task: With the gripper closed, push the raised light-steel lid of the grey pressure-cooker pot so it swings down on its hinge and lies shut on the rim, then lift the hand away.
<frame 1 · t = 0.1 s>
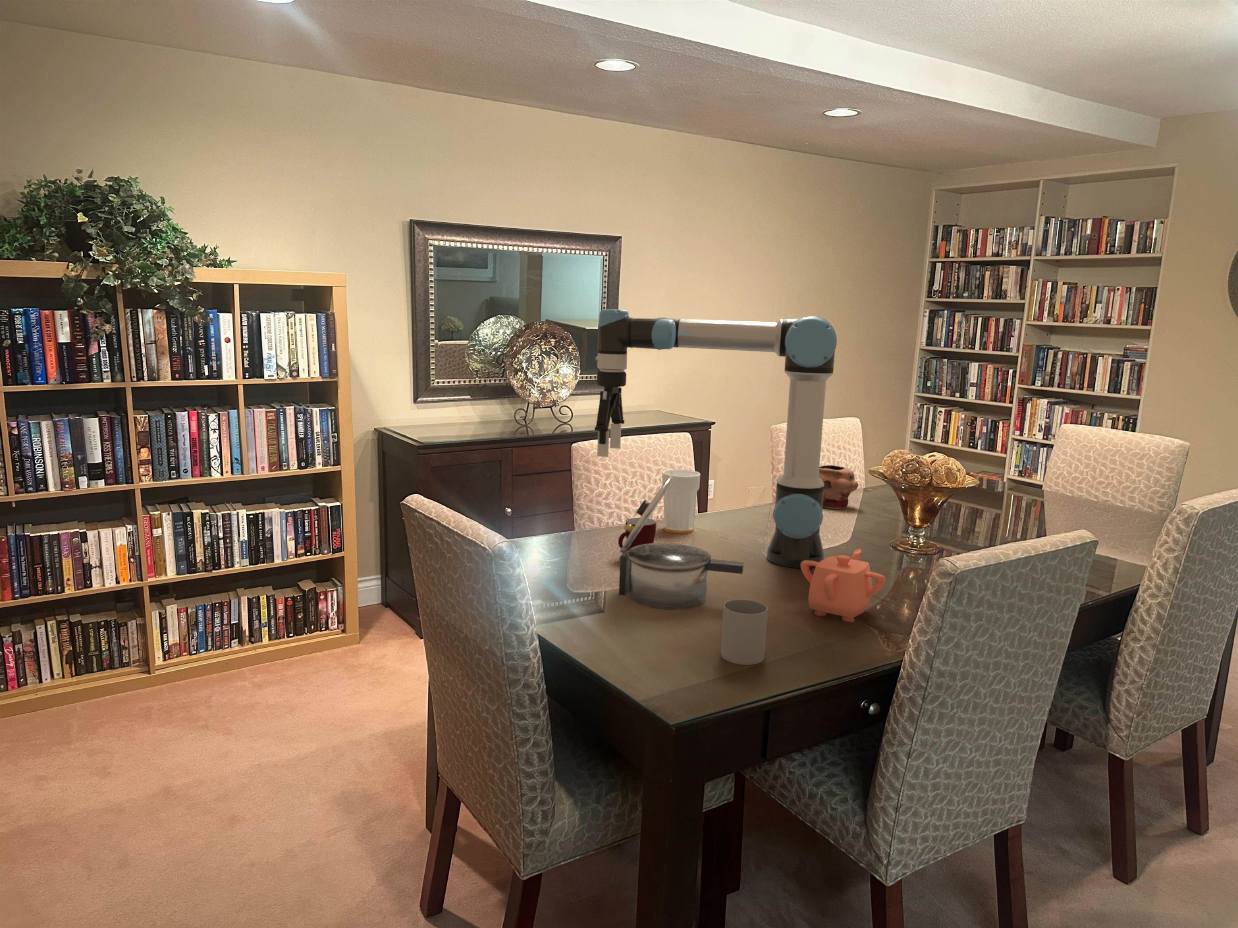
hand: (609, 452, 228), 28 cm above the table, fingers open, 13 cm apart
decorative planter: (827, 506, 301), on the table
pot: (667, 595, 203), on the table
teapot: (839, 612, 196), on the table
mug: (635, 559, 231), on the table
cup 2: (678, 530, 263), on the table
cup: (742, 656, 170), on the table
lid: (644, 511, 200), point 20 cm above the table, hinge at 60.0°
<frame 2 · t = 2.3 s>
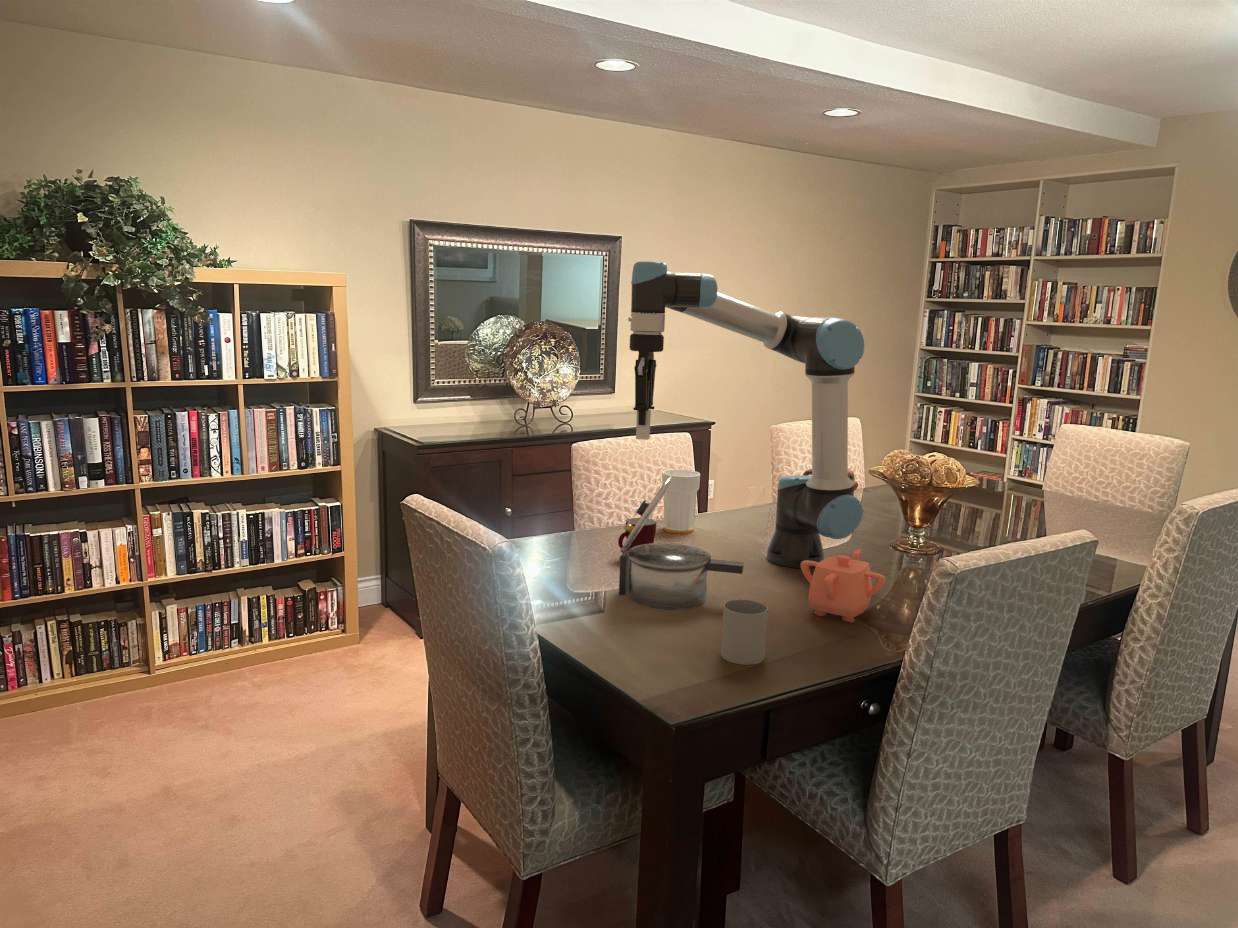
hand: (642, 438, 198), 36 cm above the table, fingers closed
nothing on the table moved.
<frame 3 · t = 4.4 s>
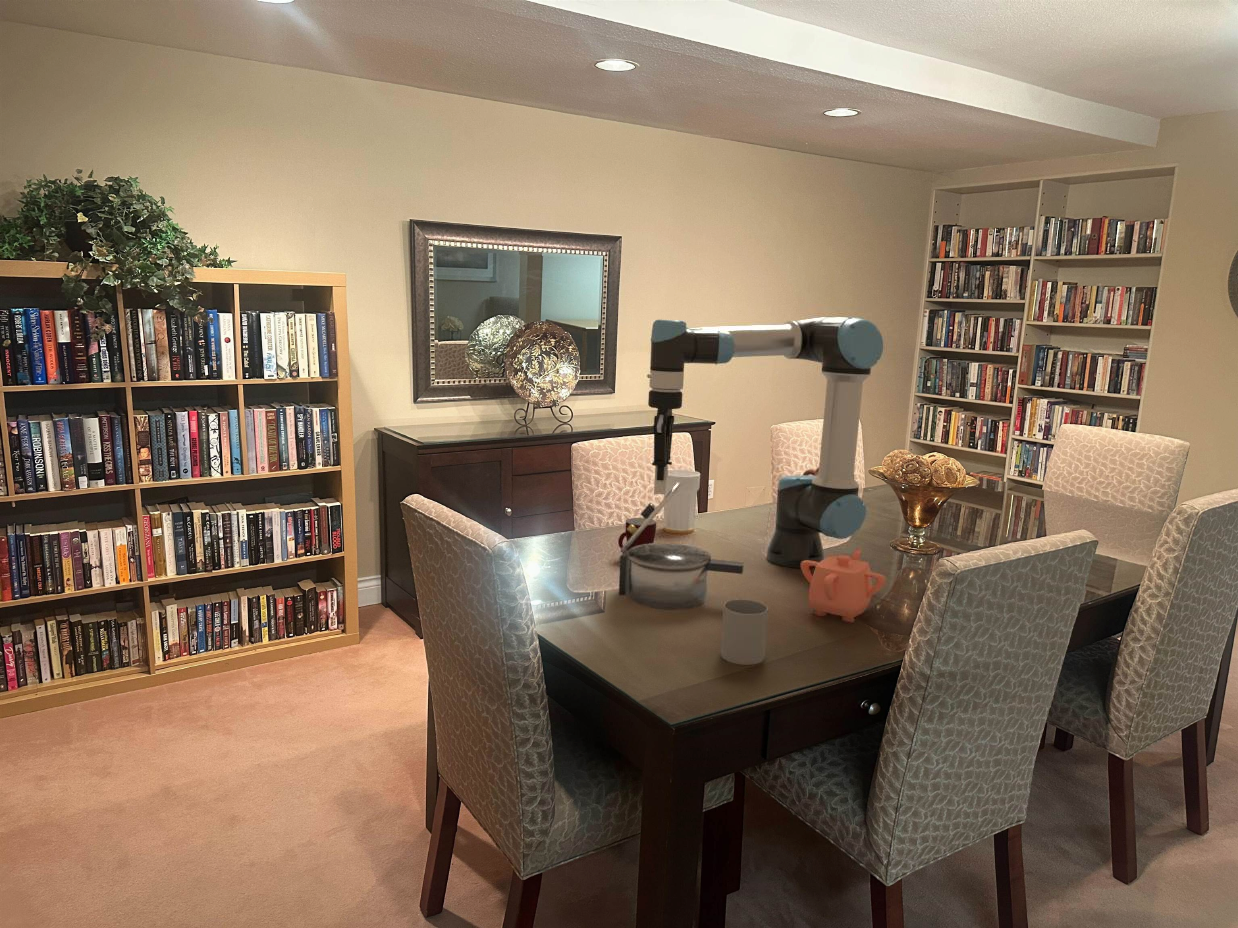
hand: (660, 493, 199), 24 cm above the table, fingers closed
lid: (648, 514, 200), point 19 cm above the table, hinge at 53.4°, touching gripper
everything else where it was.
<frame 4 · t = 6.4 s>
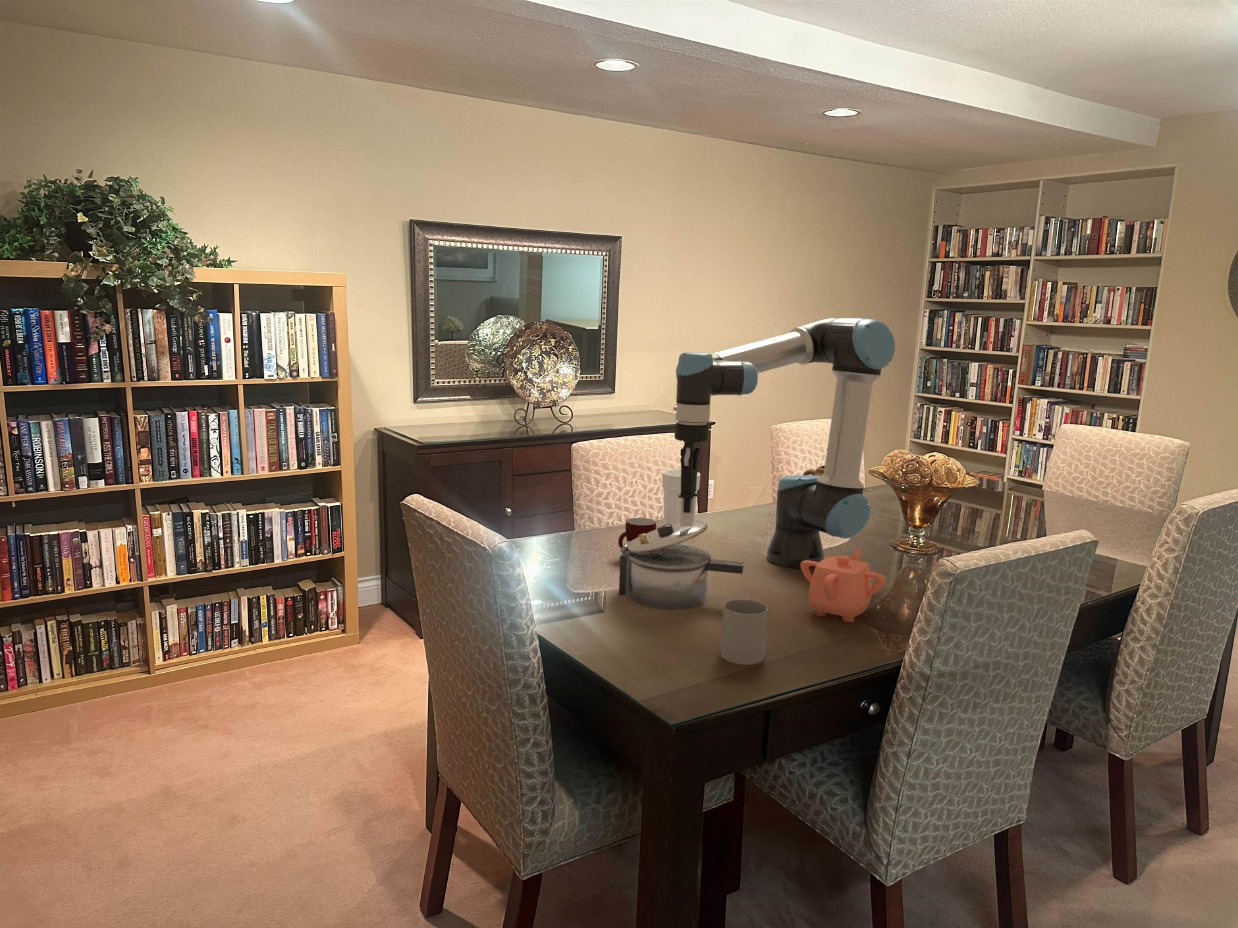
hand: (686, 525, 199), 17 cm above the table, fingers closed
lid: (663, 532, 200), point 15 cm above the table, hinge at 20.0°, touching gripper
everything else where it was.
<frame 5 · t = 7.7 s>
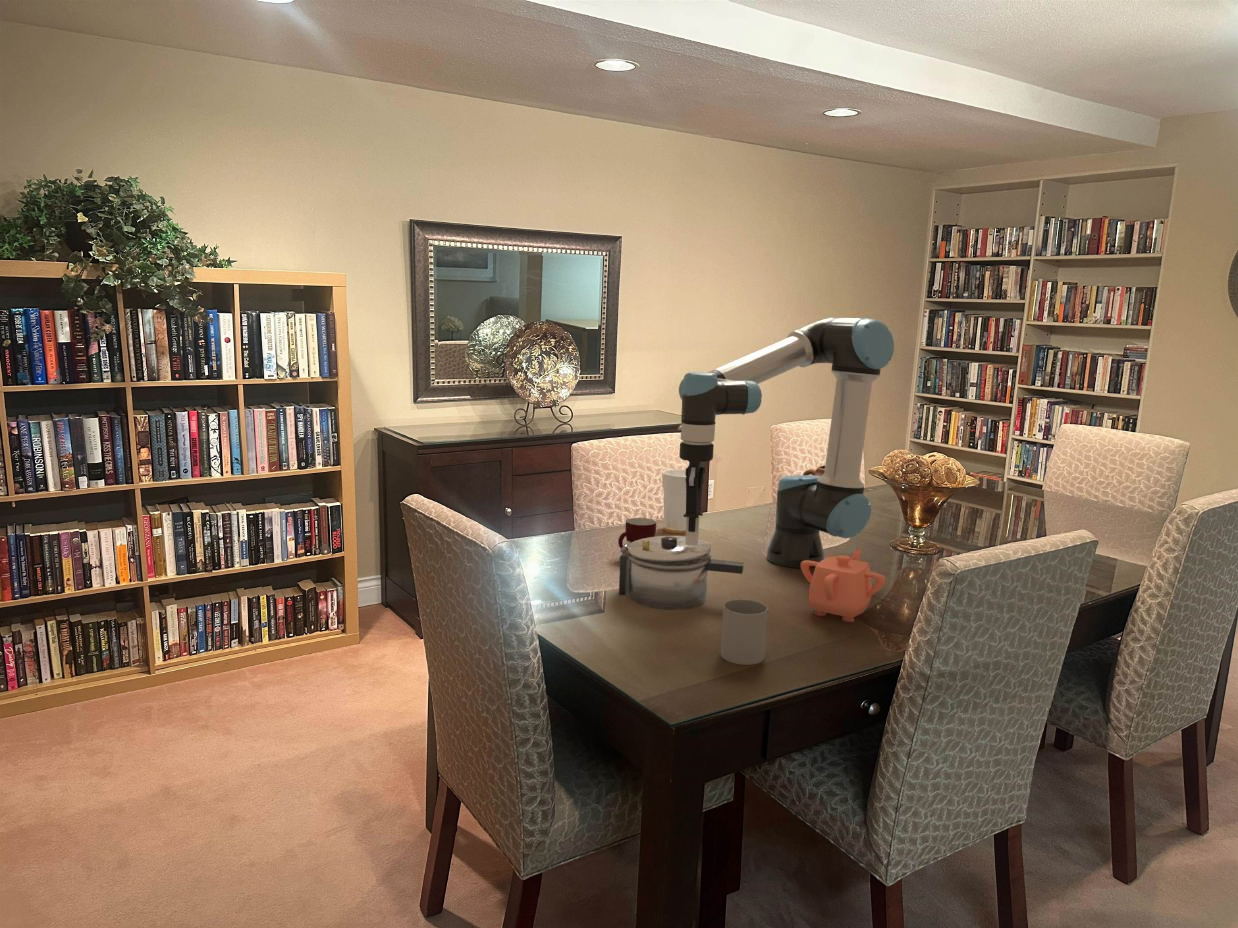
hand: (691, 544, 199), 13 cm above the table, fingers closed
lid: (666, 544, 201), point 12 cm above the table, hinge at 3.7°
everything else where it was.
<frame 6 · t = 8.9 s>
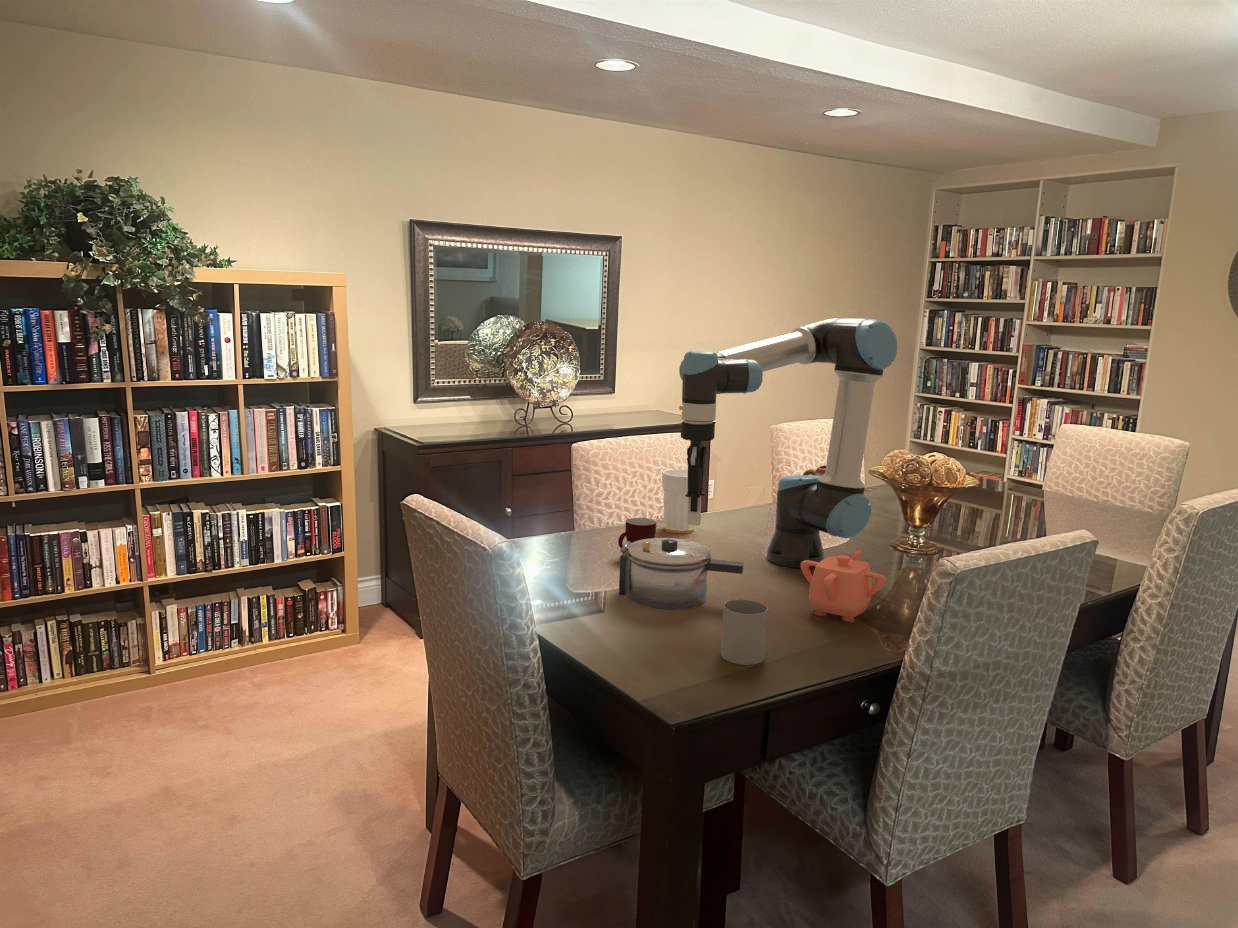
hand: (693, 524, 199), 18 cm above the table, fingers closed
lid: (666, 546, 201), point 12 cm above the table, hinge at -0.1°
everything else where it was.
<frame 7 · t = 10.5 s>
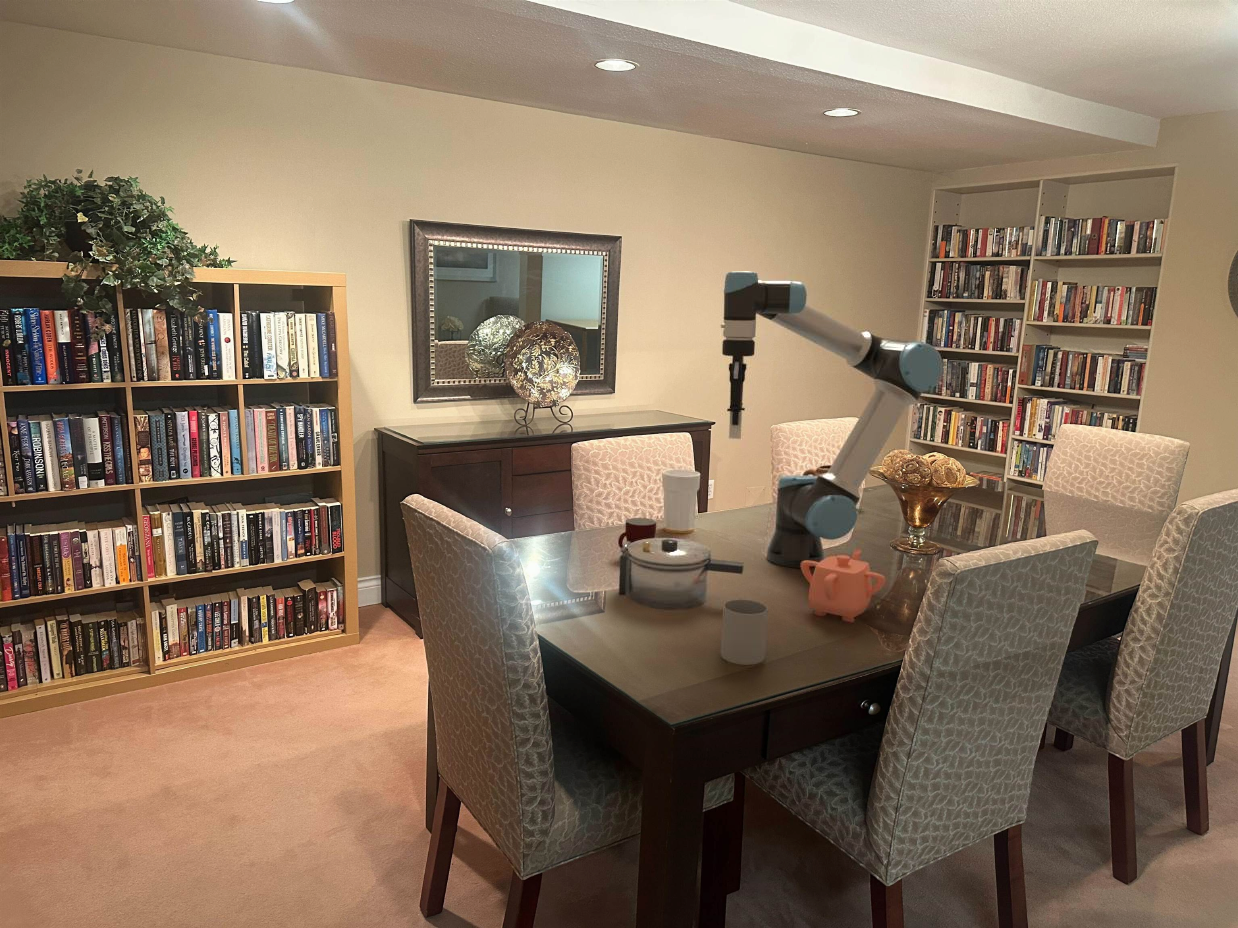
hand: (734, 438, 210), 35 cm above the table, fingers closed
nothing on the table moved.
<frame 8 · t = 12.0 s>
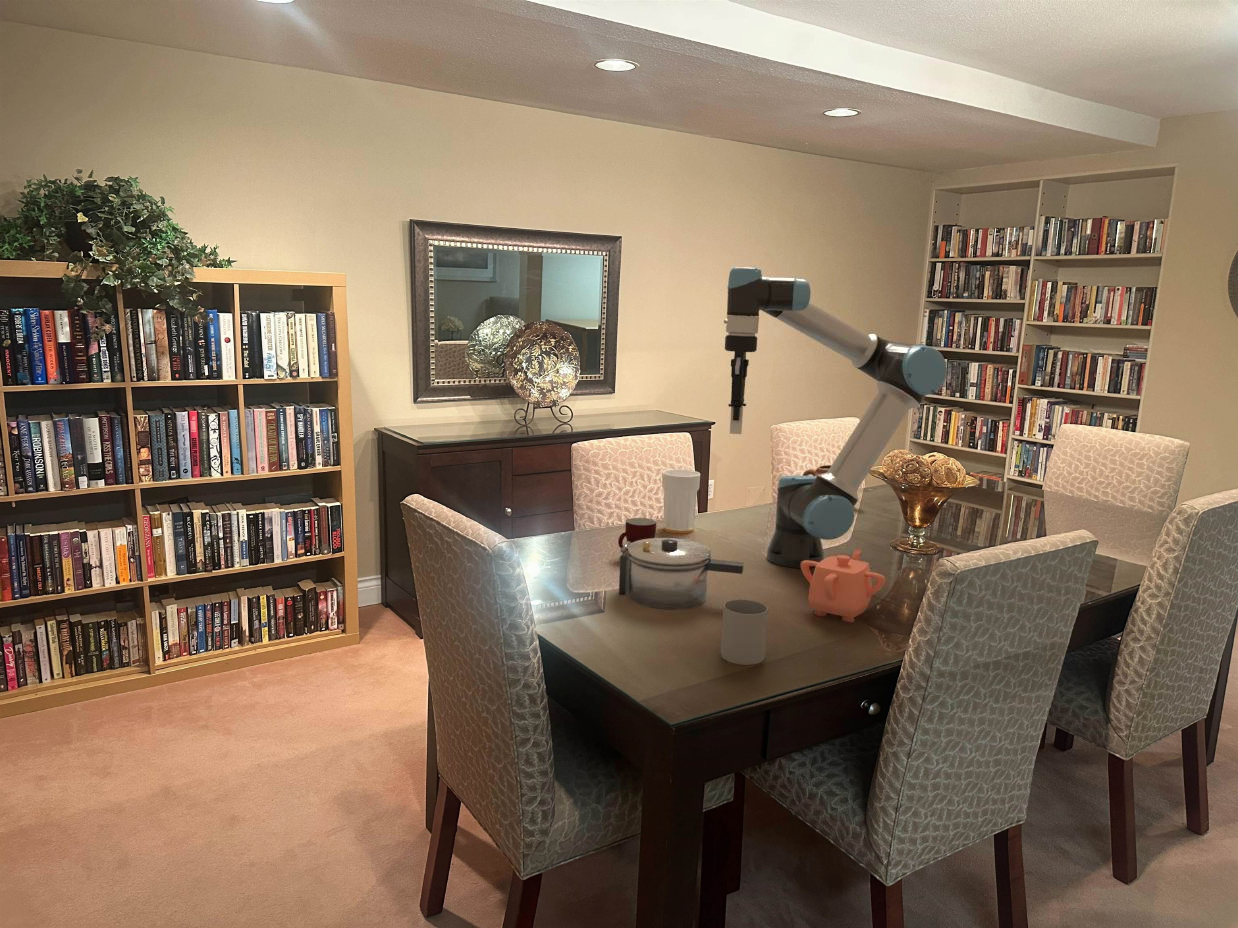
hand: (735, 433, 211), 36 cm above the table, fingers closed
nothing on the table moved.
at the end: lid at +0° (first picture: +60°) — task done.
